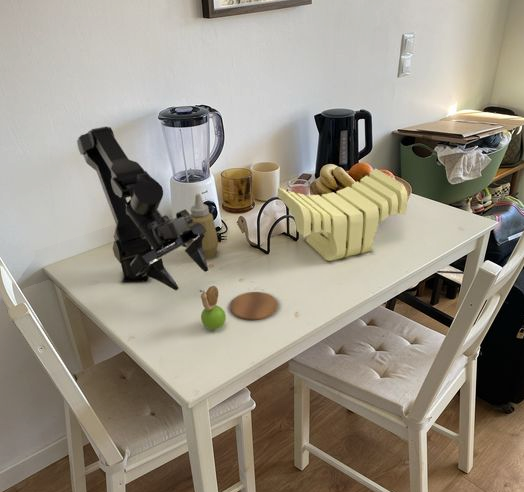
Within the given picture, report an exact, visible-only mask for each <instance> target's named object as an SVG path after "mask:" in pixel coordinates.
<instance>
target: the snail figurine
mask: <svg viewBox="0 0 524 492" xmlns="http://www.w3.org/2000/svg"><path fill="white" fill-rule="evenodd" d="M199 293H200V299H201V302H202V306H203V310H202V311H201V316H200V320H201V323H202V325H203V326H204V327H205V328H206V329H208V330H218V329H220V328H221V327H223V326H224V325H225V322H226V319H227V316H226V313H225V310H224V309H223V308H222V307H221V306H219V305H217V304H218V299H219V290H218V287H217V286H215V285H210V286H209V287H208V288H207V290H206V291H205V290H204V289H203V290H202V289H199Z"/></svg>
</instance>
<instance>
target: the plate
mask: <svg viewBox="0 0 524 492" xmlns="http://www.w3.org/2000/svg"><path fill="white" fill-rule="evenodd" d="M277 309H278V302H277V300H276V298H275V297H273V296H272V295H271V294H269V293H266V292H261V291H250V292H245V293H242V294H240V295H238V296H236V297H235V298H233V300H232V301H231V303H230V311H231V313H232V314H233V316H234V317H237V318H239V319H241V320H246V321H260V320H264V319H267V318H269V317H271V316H272V315H273V314H275V312H276V311H277Z"/></svg>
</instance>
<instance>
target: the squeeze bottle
mask: <svg viewBox="0 0 524 492" xmlns="http://www.w3.org/2000/svg"><path fill="white" fill-rule="evenodd" d="M190 215H191V217H192V220H193V222H192V223H191V224H189V227H190V226H192V225H194V224H196V223H199V224H202V225H203V226H204V228H205V229H206V230H207V231H206V233H205V234H204V236H205V237H204V238H203V239H202V249H203V253H204V257H205V260H206V261H207V260H210V259H213V258H214V257H215V256H216V253H217V250H218V246H219V239H218V233H217V230H216V224H215V220H214V215H213V214H212V213H210V209H209V205H207V204H204V201H203V199H202V196H201V193H195V196H194V205H192V206H191V207H190Z"/></svg>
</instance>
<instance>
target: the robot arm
mask: <svg viewBox="0 0 524 492" xmlns="http://www.w3.org/2000/svg"><path fill="white" fill-rule="evenodd" d="M76 144H77V149H78V152H79V154H80V155H81V156H83V158H84V161H85V163H86V164H87V165H88V166H90V168H92V169H93V170H94V171H95V172H96V174H97V176H98V179H99V182H100V185H101V187H102V190H103V193H104V195H105V198H106V201H107V205H108V207H109V210H110V212H111V215H112V217H113V220H114V223H115V225H116V226H115V228H114V233H113V238H114V241H113V245H112V252H113V255H114V257H115V258H116V260H117V261H118V262H119V264H120V265H121V270H122V275H123V277H122V280H121V281H122V283H142V282H145V283H146V282H148V280H149V278H151V279H153V280H155V281H157V282H160V283H162V284H163V285H165V286H167V287H169V288H170V289H172V290H173V291H178V290H179V288H180V287H179V285H178V284H177V283H176V281H175V280H174V278H173V277H172V276H171V274H170V273H169V271H168V270H167V269H166V268H165V266H164V265H165V264H164V261H163V258H162V257H164V256H166V255H167V254H169V253H171V252H173V251H175V250H177V249H179V248H180V247H184V248H185V250H184V252H185V253H186V254H187V255H188V256H189V257H190V258H191V259H192V260H193V262H194V263H195V264H196V265H197V266H198V267H199V268H200V269H201V270H202V271H203V272H204V273H207V272H208V271H209V268H208V267H209V266H208V263H207V259H206V260H205V257H204V253H203V249H202V239H203V238H204V237H205V236H204V234H205V233H206V231H207V230H206V229H205V228H204V226H203V225H202V224H199V223H196V224H194V225H192V226H190V227H189V224H191V223H192V222H193V220H192V217H191V213H190V212H188V210H187V209H186V208H185V209H182V210H180V211H178V212H176V213H175V216H176V217H174V218H173V219H171V218H170V217H169V216H167V215H166V214H165V215H162V214H161V212H160V211H159V210H158V209H159V206H160V204H161V203H162V202H161V201H162V199H163V196H164V189H163V186H162V185H161V184H160V183H159V182H158V181H157V180H156V179H155V178H154V177H152V176H151V175H150V174H149V173H148V172H147V171H146V170H145V169H144V168H143V167H142V166H141V164H140V163H138V162H137V161H134V160H131V159H129V158H128V156H127V155H126V153H125V151H124V149H123V148H122V146H121V145H120V144H119V142H118V140H117V139H116V137H115V133H114V131H113V129H112V127H111V126H101V127H95V128H91V130H88V132H86V133H84V134H80V136H79V137H77V140H76ZM127 198H130V199H129V201H127Z"/></svg>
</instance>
